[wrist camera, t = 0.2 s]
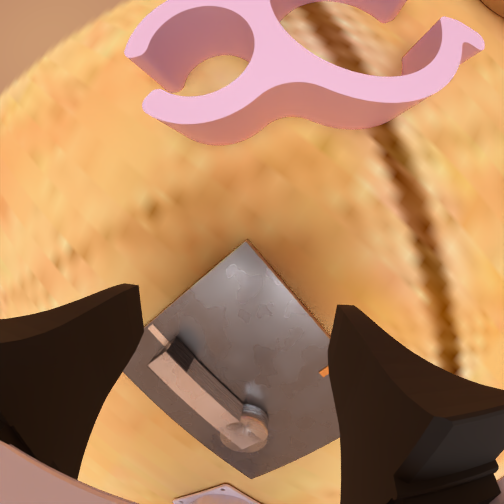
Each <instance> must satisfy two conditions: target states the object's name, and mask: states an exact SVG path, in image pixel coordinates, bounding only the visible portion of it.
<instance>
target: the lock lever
mask: <svg viewBox="0 0 504 504" xmlns="http://www.w3.org/2000/svg"><path fill="white" fill-rule="evenodd" d="M194 357H195V356H194V355H193V354H192V353H191V352H190V351H189V350H188V349H187V348H186V347H185V346H184V345H183V344H182V343H181V342H180V340H179V339H178V338H177V337H175V338H174V339H173V340H172V341H170V342H169V343H168V344H166V345H165V346H164V347H163V348H161V349H160V350H159V351H157V353H156V354H155V355H154V357H153V358H152V359H151V361H150V362H149V364H148V365H147V367H148V368H149V369H150V370H151V371H152V372H153V373H154V374H155V375H156V376H157V377H158V378H159V379H160V380H161V381H162V382H163V383H164V384H165V385H166V386H167V385H168V386H169V387H170V388H171V389H172V390H173V391H174V392H175V393H176V394H177V395H178V396H179V397H180V398H182V399H183V400H184V401H185V402H186V403H187V404H188V405H189V406H190V407H191V408H193V409H194V410H195V411H196V412H197V413H198V414H199V415H201V416H202V417H203V418H204V419H205V420H206V421H208V422H209V423H210V424H211V425H212V426H213V427H215V428H216V429H217V430H218V431H220V439H221V441H222V443H223V444H224V445H225V446H226V447H228V448H230V449H232V450H234V451H237V452H243V453H249V452H255V451H258V450H260V449H262V448H263V447H264V446H265V445H266V443H267V436H268V416H267V414H266V413H265V412H264V411H263V410H262V409H260V408H258V407H256V406H253V405H248V404H242V403H241V402H240V401H239V400H238V399H237V398H236V397H235V396H234V395H233V394H231V393H230V392H229V391H228V390H227V389H226V388H225V387H224V386H223V385H222V384H221V383H220V382H219V381H218V380H217V379H216V378H215V377H214V376H212V375H211V374H210V373H209V372H208V371H207V370H206V369H205V368H204V367H203V366H202V365H201V364H200V363H199V362H198V361H197V360H196V359H195V358H194Z"/></svg>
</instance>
